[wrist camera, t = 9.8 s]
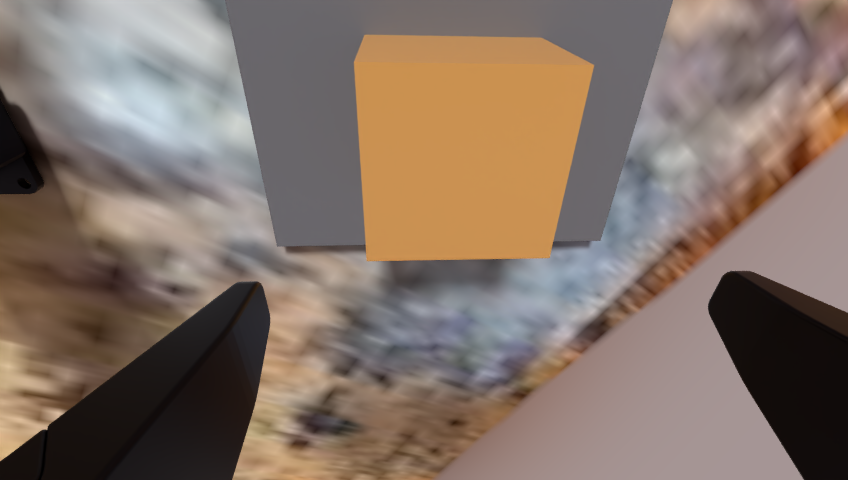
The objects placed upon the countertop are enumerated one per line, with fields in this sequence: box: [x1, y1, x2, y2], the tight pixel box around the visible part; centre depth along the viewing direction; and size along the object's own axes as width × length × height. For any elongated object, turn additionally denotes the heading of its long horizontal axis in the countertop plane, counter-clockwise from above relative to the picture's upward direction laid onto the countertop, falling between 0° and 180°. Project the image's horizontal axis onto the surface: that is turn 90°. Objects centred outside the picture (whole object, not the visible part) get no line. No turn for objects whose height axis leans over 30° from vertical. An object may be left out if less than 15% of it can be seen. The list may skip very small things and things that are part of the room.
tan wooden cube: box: [354, 35, 594, 261], centre depth 15 cm, size 7×7×5 cm
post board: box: [225, 0, 673, 246], centre depth 17 cm, size 16×12×4 cm
